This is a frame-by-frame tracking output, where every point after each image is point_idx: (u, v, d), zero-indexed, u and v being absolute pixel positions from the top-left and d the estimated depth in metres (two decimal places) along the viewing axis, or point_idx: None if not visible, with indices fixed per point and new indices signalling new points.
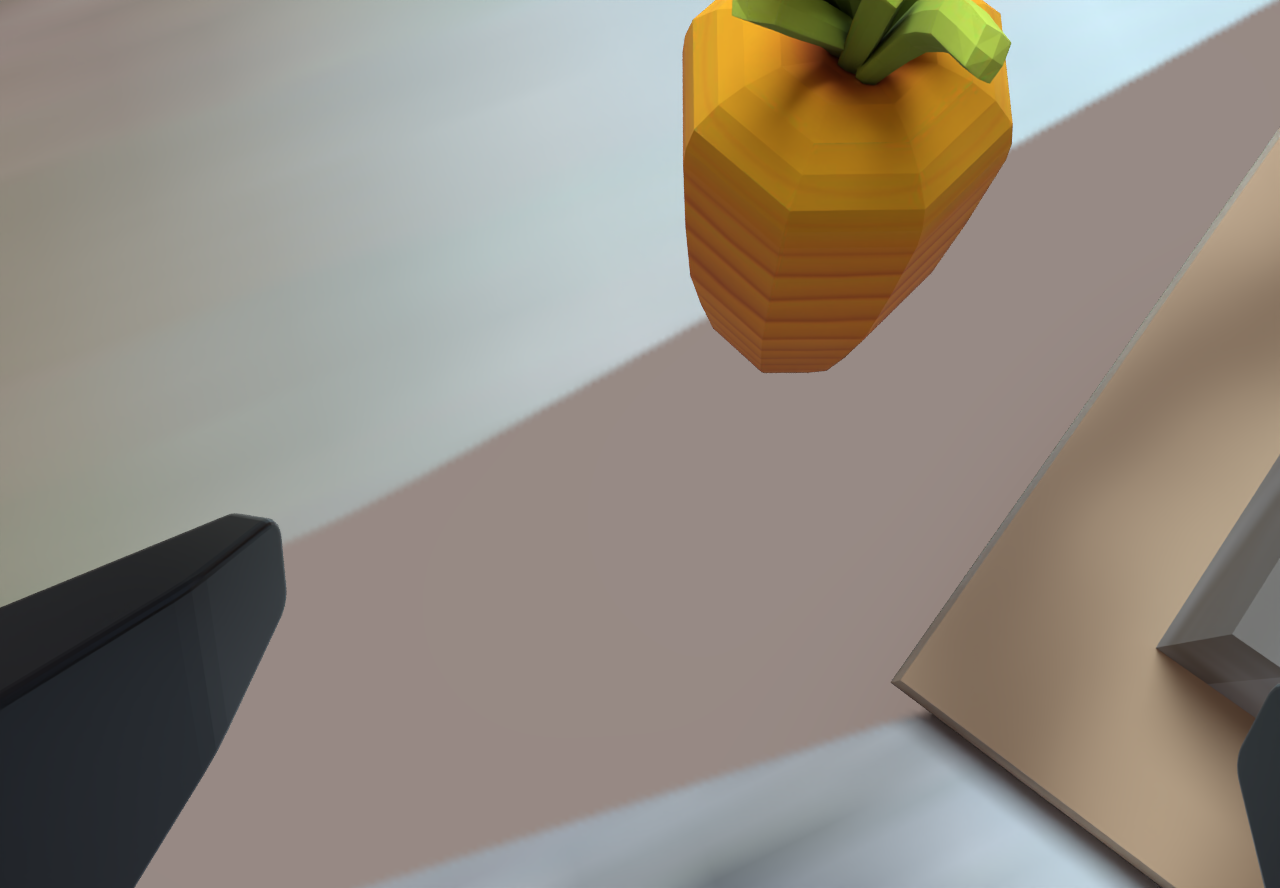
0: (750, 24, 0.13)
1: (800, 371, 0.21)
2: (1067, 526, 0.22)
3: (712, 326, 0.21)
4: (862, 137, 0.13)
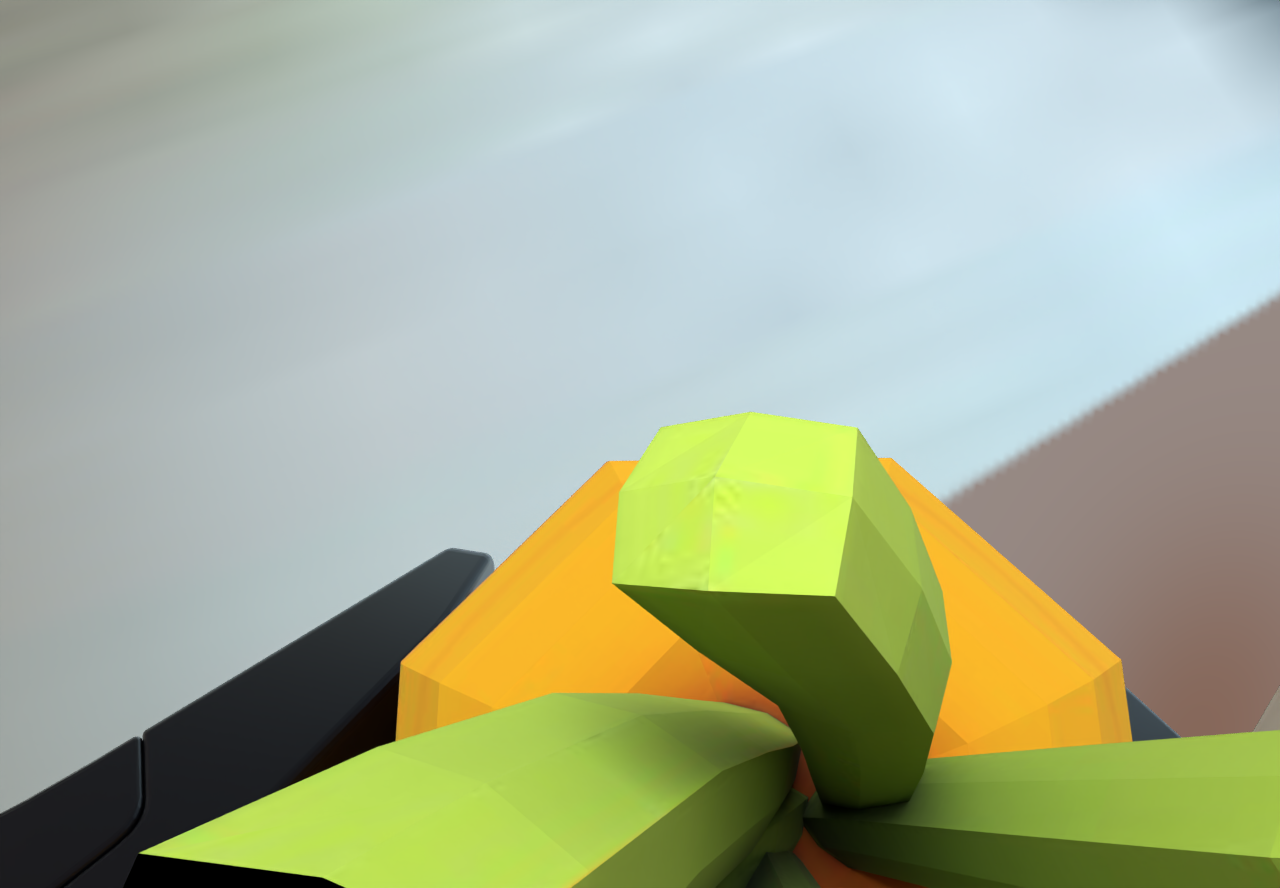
0: None
1: None
2: None
3: None
4: None
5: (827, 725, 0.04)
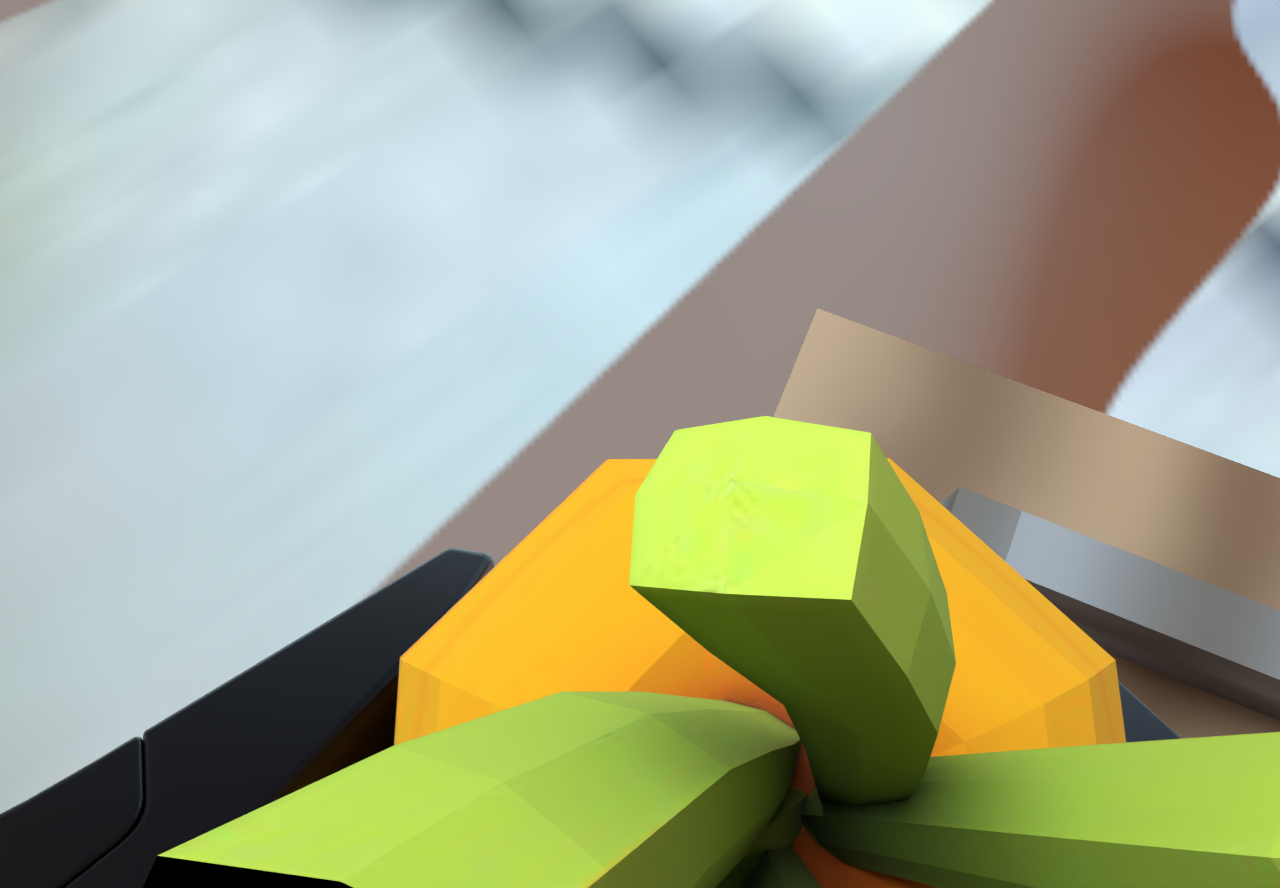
0: None
1: None
2: None
3: None
4: None
5: (833, 725, 0.04)
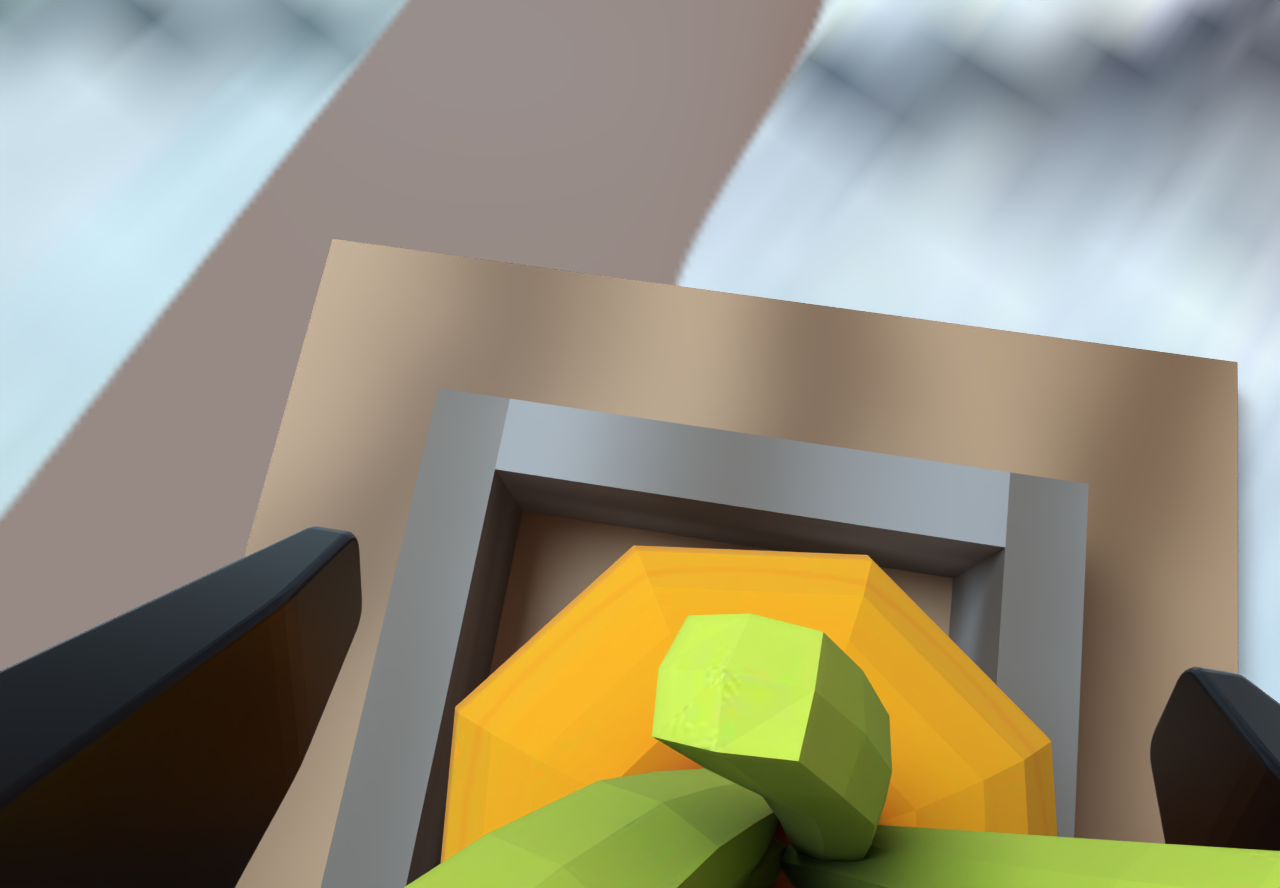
0: None
1: None
2: None
3: None
4: None
5: (798, 812, 0.05)
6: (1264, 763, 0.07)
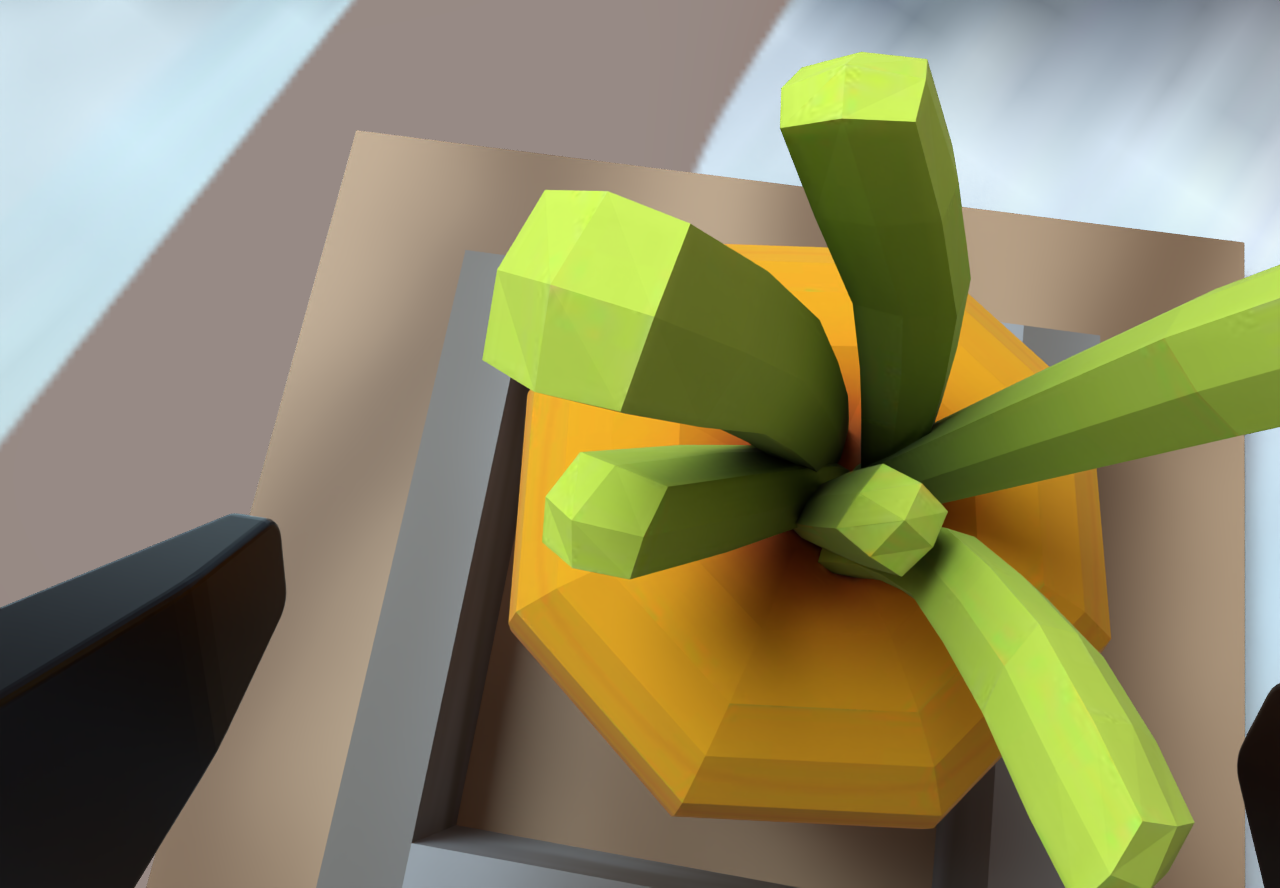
0: (624, 435, 0.07)
1: None
2: (230, 790, 0.17)
3: None
4: (824, 697, 0.07)
5: (885, 317, 0.05)
6: None
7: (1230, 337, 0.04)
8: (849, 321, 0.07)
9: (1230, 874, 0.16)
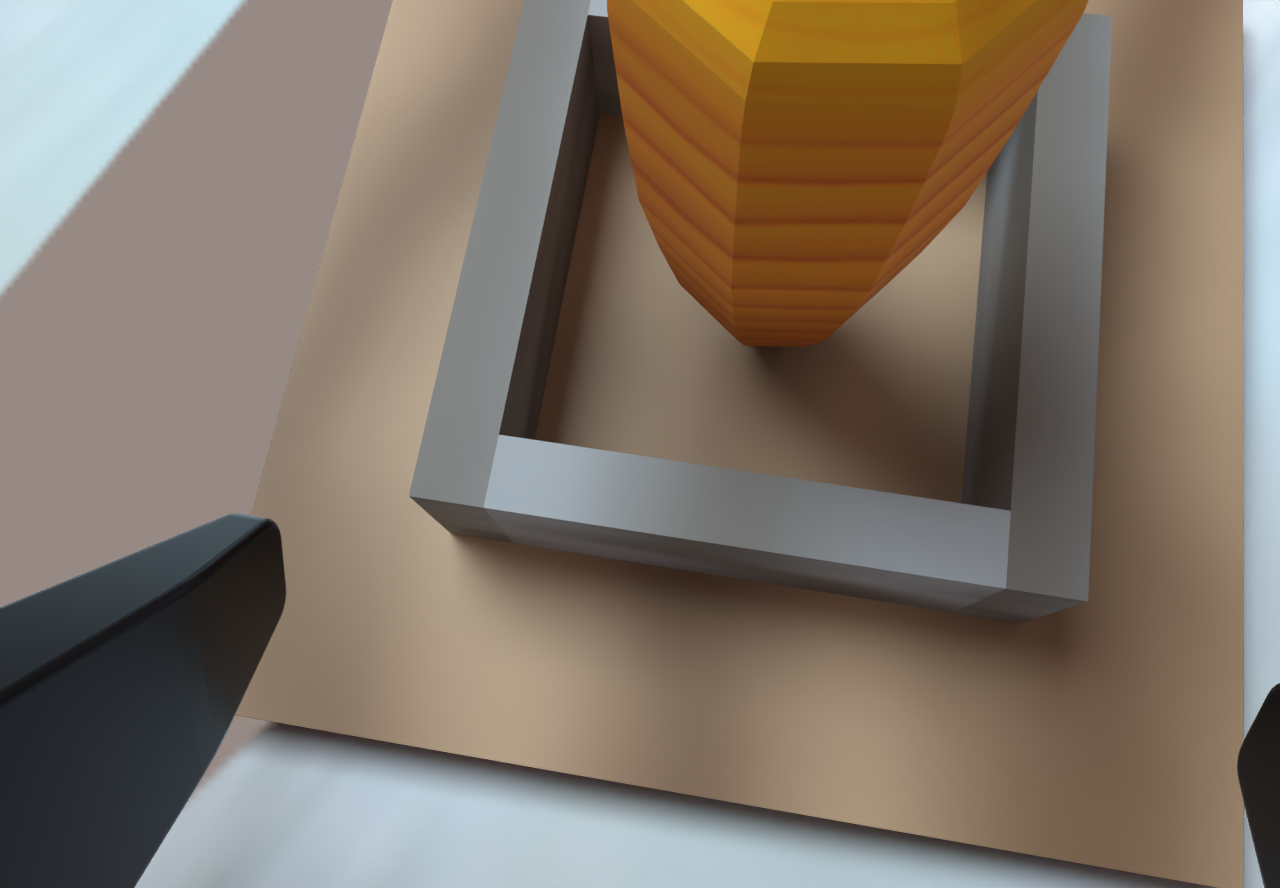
0: None
1: (789, 343, 0.16)
2: (320, 453, 0.19)
3: (678, 281, 0.16)
4: None
5: None
6: None
7: None
8: None
9: (1230, 512, 0.18)
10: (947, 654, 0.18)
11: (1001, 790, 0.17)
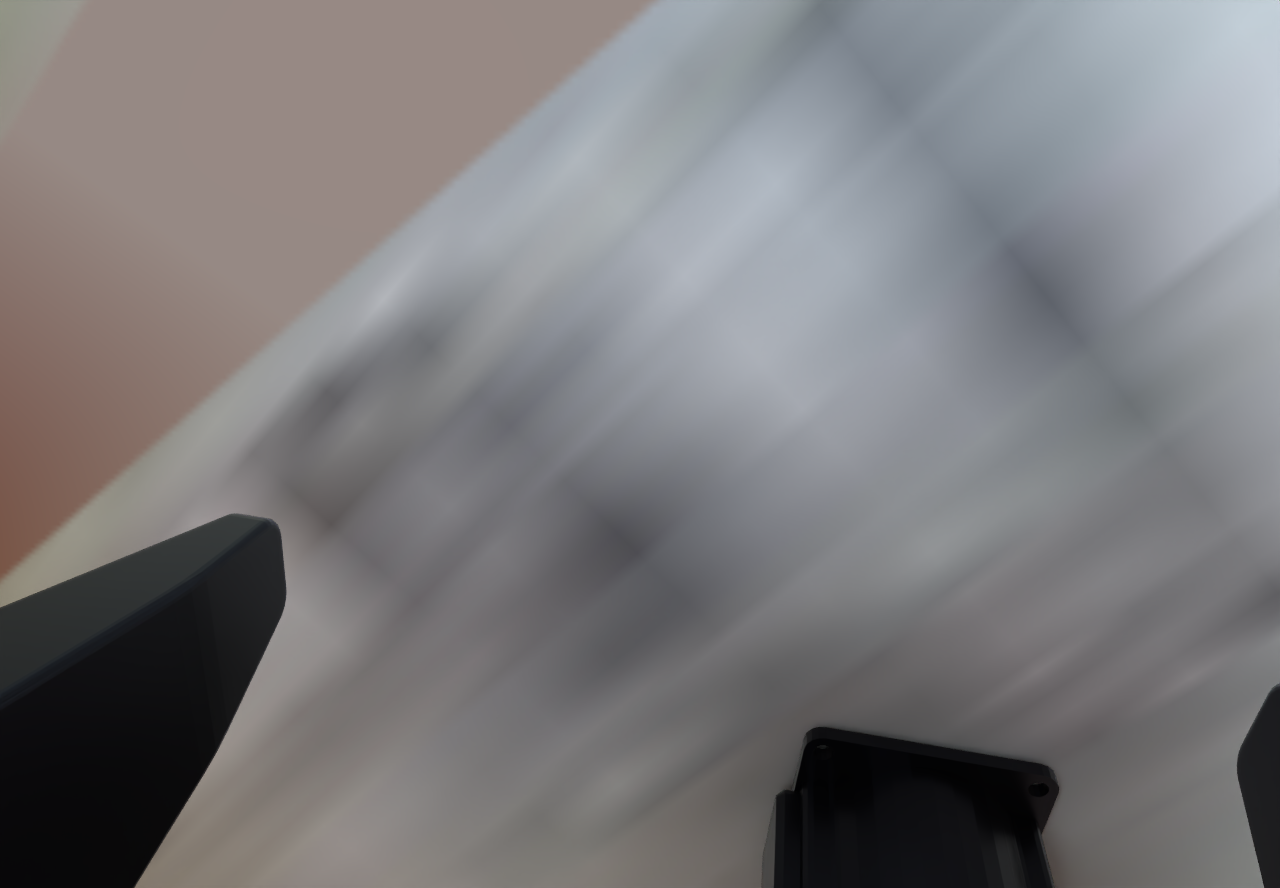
0: None
1: None
2: None
3: None
4: None
5: None
6: None
7: None
8: None
9: None
10: None
11: None
